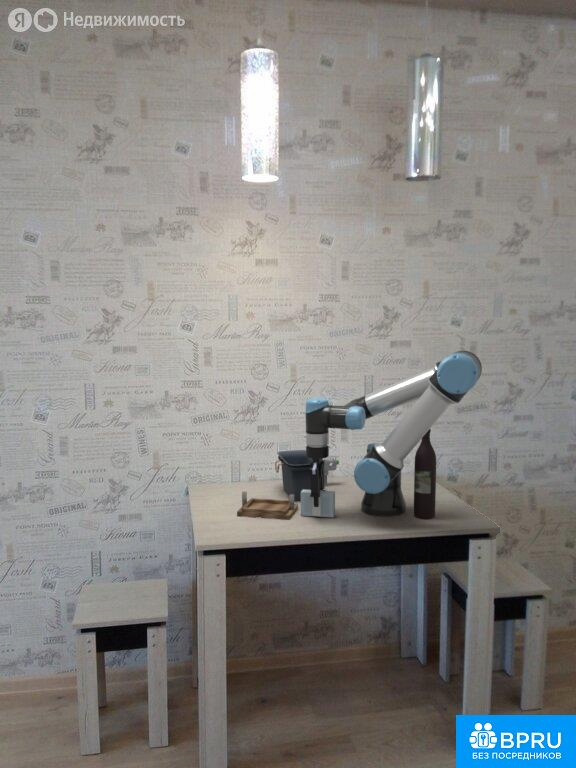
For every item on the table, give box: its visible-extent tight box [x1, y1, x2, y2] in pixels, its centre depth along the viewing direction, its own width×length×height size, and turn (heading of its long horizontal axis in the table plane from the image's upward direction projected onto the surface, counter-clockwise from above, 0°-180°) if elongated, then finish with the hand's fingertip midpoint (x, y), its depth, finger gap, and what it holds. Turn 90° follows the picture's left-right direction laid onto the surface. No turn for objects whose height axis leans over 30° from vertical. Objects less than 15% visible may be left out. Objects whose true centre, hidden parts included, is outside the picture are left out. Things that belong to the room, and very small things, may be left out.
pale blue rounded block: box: [300, 489, 336, 518], centre depth 251 cm, size 11×4×8 cm, turn 77°
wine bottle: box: [413, 428, 437, 520], centre depth 248 cm, size 7×7×30 cm
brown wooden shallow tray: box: [236, 491, 299, 521], centre depth 255 cm, size 18×13×6 cm
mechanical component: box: [323, 458, 340, 487], centre depth 287 cm, size 3×10×10 cm, turn 100°
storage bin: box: [274, 449, 312, 502], centre depth 275 cm, size 21×16×14 cm
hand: (317, 513), depth 251 cm, fingers closed on pale blue rounded block, 4 cm apart
